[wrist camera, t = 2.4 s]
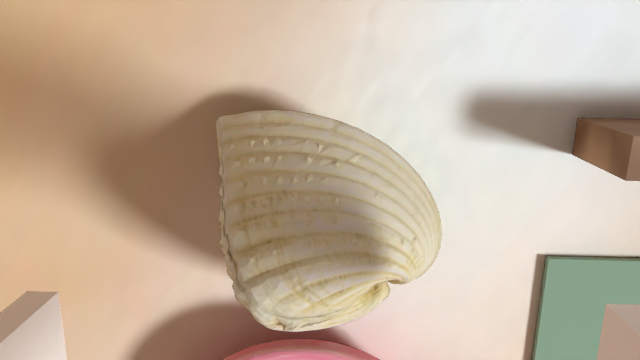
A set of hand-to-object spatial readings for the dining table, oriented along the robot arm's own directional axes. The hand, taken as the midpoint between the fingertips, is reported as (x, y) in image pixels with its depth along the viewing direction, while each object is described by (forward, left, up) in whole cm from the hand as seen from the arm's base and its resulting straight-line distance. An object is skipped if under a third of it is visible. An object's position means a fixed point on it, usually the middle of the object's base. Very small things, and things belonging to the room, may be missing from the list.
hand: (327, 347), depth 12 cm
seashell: (-1, 0, -10) cm, 10 cm away
